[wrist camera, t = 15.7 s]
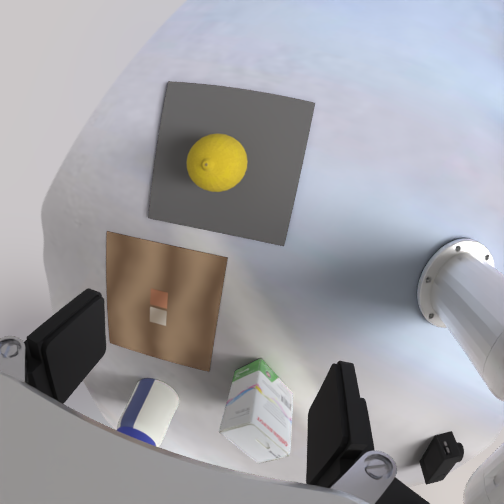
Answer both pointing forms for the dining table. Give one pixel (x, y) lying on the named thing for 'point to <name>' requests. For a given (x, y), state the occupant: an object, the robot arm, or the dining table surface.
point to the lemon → (217, 162)
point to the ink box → (259, 413)
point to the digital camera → (440, 457)
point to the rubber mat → (258, 156)
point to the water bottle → (149, 411)
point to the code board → (163, 299)
